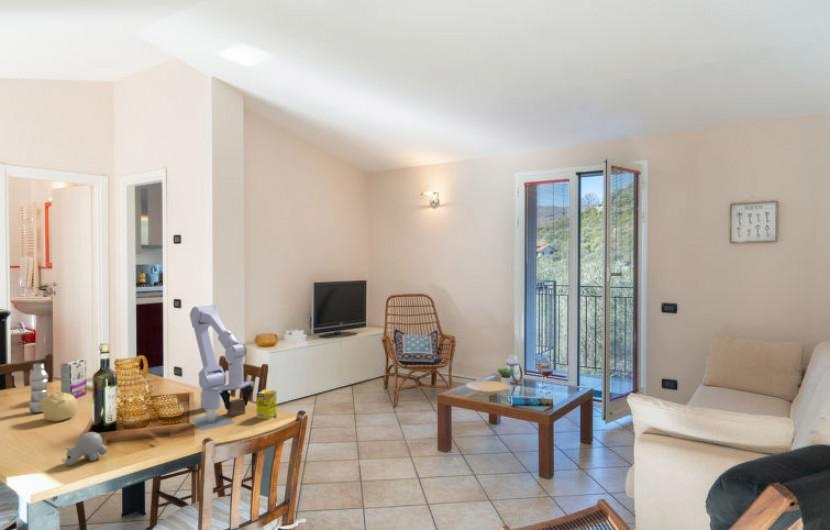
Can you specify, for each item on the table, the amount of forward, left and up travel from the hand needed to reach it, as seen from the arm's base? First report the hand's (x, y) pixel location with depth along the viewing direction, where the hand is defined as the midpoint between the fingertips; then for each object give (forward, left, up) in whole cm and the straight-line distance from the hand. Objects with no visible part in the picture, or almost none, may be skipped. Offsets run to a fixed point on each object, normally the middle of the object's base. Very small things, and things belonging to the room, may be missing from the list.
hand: (236, 407), depth 216 cm
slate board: (+3, -12, -4) cm, 13 cm away
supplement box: (+12, +7, -4) cm, 14 cm away
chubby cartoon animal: (+11, -56, -4) cm, 57 cm away
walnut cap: (0, 0, -4) cm, 4 cm away
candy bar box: (-79, -40, -4) cm, 89 cm away
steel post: (+3, -12, -3) cm, 13 cm away
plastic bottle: (-62, -56, -4) cm, 84 cm away
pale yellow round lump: (-45, -52, -4) cm, 69 cm away
